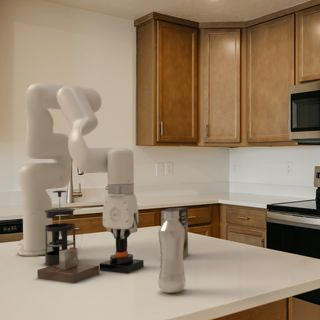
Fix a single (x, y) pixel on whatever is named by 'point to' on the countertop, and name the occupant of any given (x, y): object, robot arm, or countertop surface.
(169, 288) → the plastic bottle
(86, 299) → the countertop surface
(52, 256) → the french press
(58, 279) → the dial panel
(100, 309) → the countertop surface
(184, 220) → the coffee box
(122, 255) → the button
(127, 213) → the robot arm
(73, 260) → the bar knob
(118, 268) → the button box
